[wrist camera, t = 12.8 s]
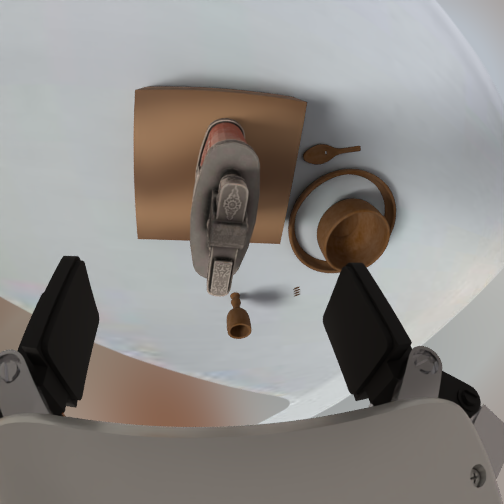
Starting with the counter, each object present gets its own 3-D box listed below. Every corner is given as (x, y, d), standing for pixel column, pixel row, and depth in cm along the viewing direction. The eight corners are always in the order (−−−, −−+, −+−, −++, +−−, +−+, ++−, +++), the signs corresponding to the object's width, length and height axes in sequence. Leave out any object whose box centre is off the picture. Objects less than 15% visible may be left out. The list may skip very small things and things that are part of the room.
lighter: (203, 114, 19) (197, 153, 11) (251, 121, 20) (284, 164, 11) (190, 216, 23) (183, 308, 15) (233, 221, 24) (247, 312, 16)
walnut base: (146, 86, 20) (135, 90, 17) (293, 96, 22) (307, 102, 19) (146, 216, 27) (137, 238, 24) (271, 221, 29) (280, 243, 26)
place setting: (381, 270, 36) (402, 302, 31) (226, 306, 36) (230, 345, 31) (390, 134, 26) (425, 152, 21) (185, 167, 25) (179, 193, 21)
